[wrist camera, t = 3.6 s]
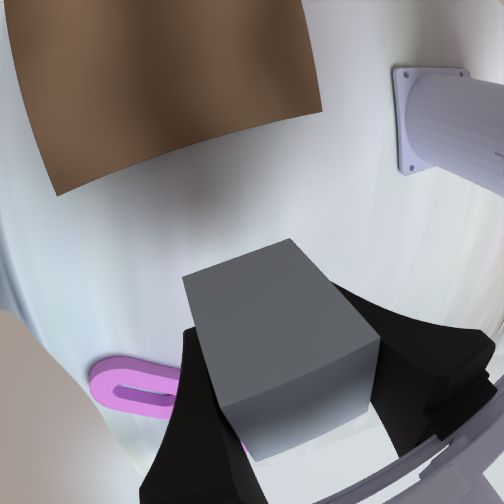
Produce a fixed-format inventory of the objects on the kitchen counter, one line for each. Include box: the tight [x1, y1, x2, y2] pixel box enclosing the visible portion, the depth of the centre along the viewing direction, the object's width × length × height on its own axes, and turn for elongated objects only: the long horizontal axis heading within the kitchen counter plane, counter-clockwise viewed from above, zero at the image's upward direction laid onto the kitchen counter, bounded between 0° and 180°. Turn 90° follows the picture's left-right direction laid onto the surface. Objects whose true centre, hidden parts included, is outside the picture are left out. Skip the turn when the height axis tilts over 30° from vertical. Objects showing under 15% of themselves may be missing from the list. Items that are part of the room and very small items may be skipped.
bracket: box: [90, 357, 248, 452], centre depth 21 cm, size 13×6×7 cm, turn 55°
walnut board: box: [4, 0, 323, 196], centre depth 11 cm, size 14×14×2 cm
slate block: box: [182, 238, 380, 462], centre depth 11 cm, size 4×4×6 cm
